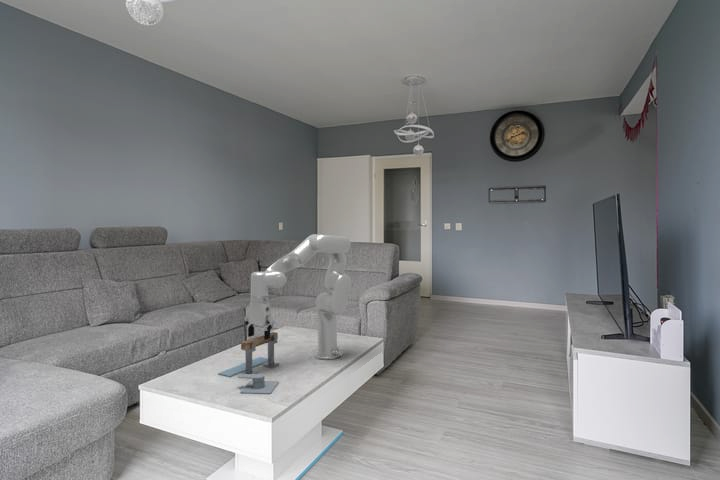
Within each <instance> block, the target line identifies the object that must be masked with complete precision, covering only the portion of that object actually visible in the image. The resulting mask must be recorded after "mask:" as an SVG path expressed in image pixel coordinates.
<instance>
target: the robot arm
mask: <svg viewBox="0 0 720 480" xmlns="http://www.w3.org/2000/svg"><path fill="white" fill-rule="evenodd" d="M351 244H352V243H351V240H350V239H349V238H348V237H346V236H344V235H343V236H342V235H328V234H316V233H313V234H310V235H309V236H307V237H306V238H305V239H304V240H303V241H302V242H301V243H299V244H298V246H296V247H295V248H294V249H293V250H292V251H290V252H289V253H287V254H285V255H284V256H282V257H280V258H279V259H277V260H276V261H275V262H273V263H272V264H271V265H270V266H268V267H267V269H266V270H265V271H253V272H252V273H251V274H250V302H249V306H248V314H247V315H245V316H243V318H244V322H245V325H246V327H247V337H248V338H251V337H254V336H255V327H254V326H258V327H259V326H260V327H263V329H264V333H263V335H264V340H267V339H270V333H271V330H272V329H273V327H274V325H275V320H274V318H272V311H271V305H270V302H269V300H270V298H269V288H270V289H271V288H273V289H279V288H282V287H284V286H285V285H286V284H287V276H286V274H285V273H287V272H289V271H291V270H294V269H298V268H301V267H303V266H304V265H306V264H307V262H309V261H310V260H312V259H311V258H313V257H314V256H315V255H316V254H317V253H325V254H327V255H328V257H329V262H328V263H329V264H328V267H327V269H326V274H325V277H324V281H323V285H324V287H325V288H326V289H327V290H328V291H332V292H321V293H320V294H318V295H317V297H316V299H315V308H316V315H317V316H316V317H317V351H316V352H315V353H314V357H315V358H316V359H318V360H319V359H320V360H334V359H337V358H339V357H340V356H343V354H344V350H341V349H340V347H339V346H338V328H337V327H338V320H337V316H339V315H341V314H342V313H343V312H344V311H345V310H346V308H347V304H348V301H349V297H350V293H351V290H352V286H353V285H352V279H351V277H350V276H349V275H348V274H347V273H345V272H346V268H347V257H346V253H348V252H349V251H350V249H351V246H352V245H351Z"/></svg>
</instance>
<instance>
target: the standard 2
mask: <svg viewBox="0 0 720 480" xmlns="http://www.w3.org/2000/svg"><path fill="white" fill-rule="evenodd" d="M277 343H278V339H277V335H274V336H273V341H271V342H268V343H267V358H268V362H266V363H263V364H262V365H263V367H264V368H269V369H273V368H275V367H276V368H277V367H278V366H280V363H279V362H275V344H277Z"/></svg>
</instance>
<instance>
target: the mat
mask: <svg viewBox="0 0 720 480" xmlns="http://www.w3.org/2000/svg"><path fill="white" fill-rule="evenodd" d="M266 363H268V357H267V358H266V357H262V356H259V357H257V358H254V359H252V369H254V368H256V367H258V366H261V365H263V364H266ZM244 372H246V362H244V363H241V364H239V365H236V366H233V367H231V368H228V369H225V370H222V371H221V372H218V375H219V376H221V377H227V378H233V377H234V376H237V375H238V374H239V375H240V374H241V373H244Z"/></svg>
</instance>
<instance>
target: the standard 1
mask: <svg viewBox="0 0 720 480" xmlns="http://www.w3.org/2000/svg"><path fill="white" fill-rule="evenodd" d="M244 341H245V340H243V341H242V342H244ZM256 348H257V347H256V345H255V343H254V342H253V343H250V349H249V350H244V351H245V363H246V371H244V372H242V373H240V374H259V373H258V371H253V368H252V360H253V352H255V351H256Z"/></svg>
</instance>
